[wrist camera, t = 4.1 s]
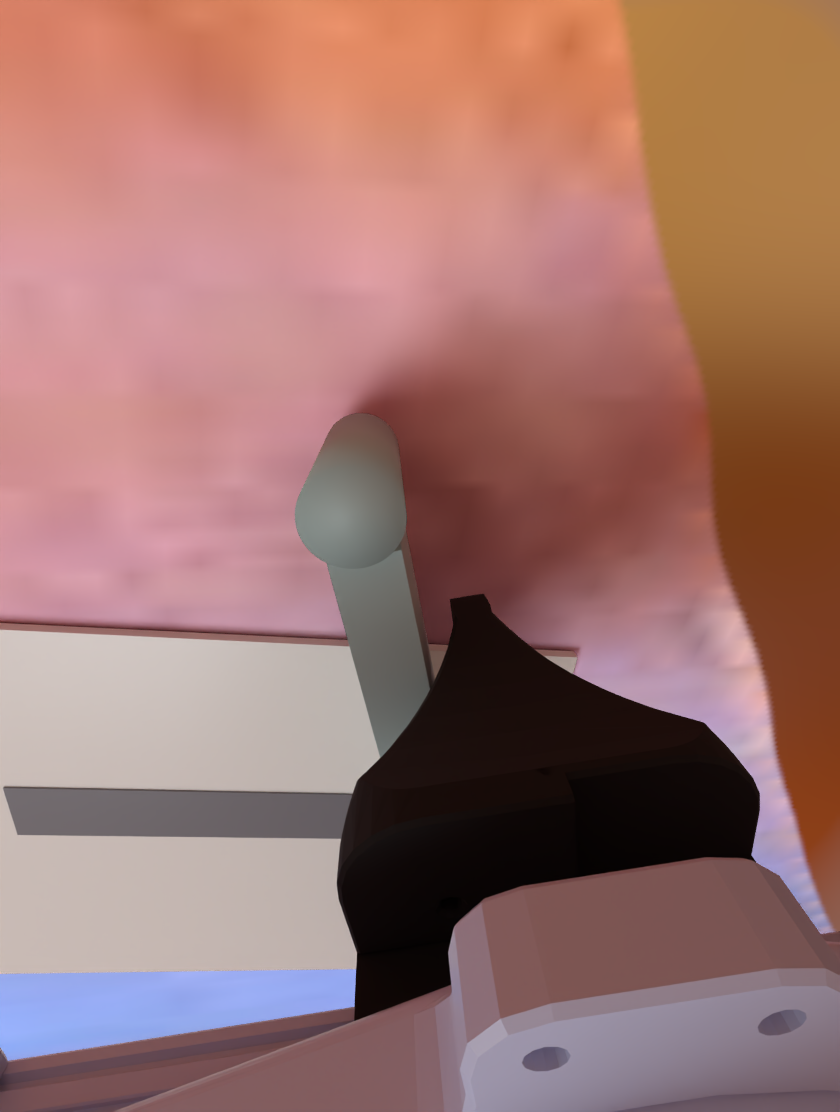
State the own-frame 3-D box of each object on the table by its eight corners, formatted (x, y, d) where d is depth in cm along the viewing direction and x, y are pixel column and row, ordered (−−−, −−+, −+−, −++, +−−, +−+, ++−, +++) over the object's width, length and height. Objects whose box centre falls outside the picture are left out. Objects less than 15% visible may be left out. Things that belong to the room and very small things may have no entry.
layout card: (491, 958, 21) (493, 968, 21) (-43, 964, 19) (-50, 976, 19) (574, 650, 15) (578, 658, 15) (-203, 612, 13) (-218, 620, 13)
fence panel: (464, 791, 16) (489, 941, 12) (412, 800, 16) (421, 953, 12) (391, 406, 11) (395, 455, 7) (316, 420, 11) (281, 476, 7)
